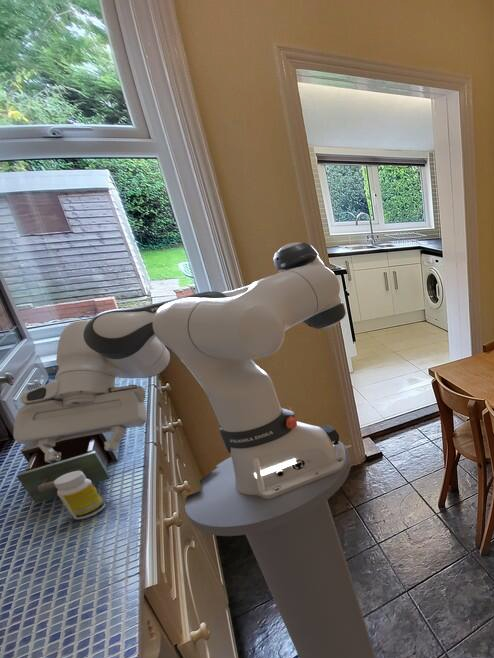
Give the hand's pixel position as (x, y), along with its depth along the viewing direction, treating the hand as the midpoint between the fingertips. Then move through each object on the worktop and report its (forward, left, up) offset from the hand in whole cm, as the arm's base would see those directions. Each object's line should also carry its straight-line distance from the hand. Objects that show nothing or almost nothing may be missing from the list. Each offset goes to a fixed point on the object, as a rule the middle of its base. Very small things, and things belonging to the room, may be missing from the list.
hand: (82, 455), depth 82 cm
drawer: (+7, -8, -9) cm, 13 cm away
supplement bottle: (+1, +6, -10) cm, 11 cm away
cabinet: (+9, -20, -10) cm, 24 cm away
